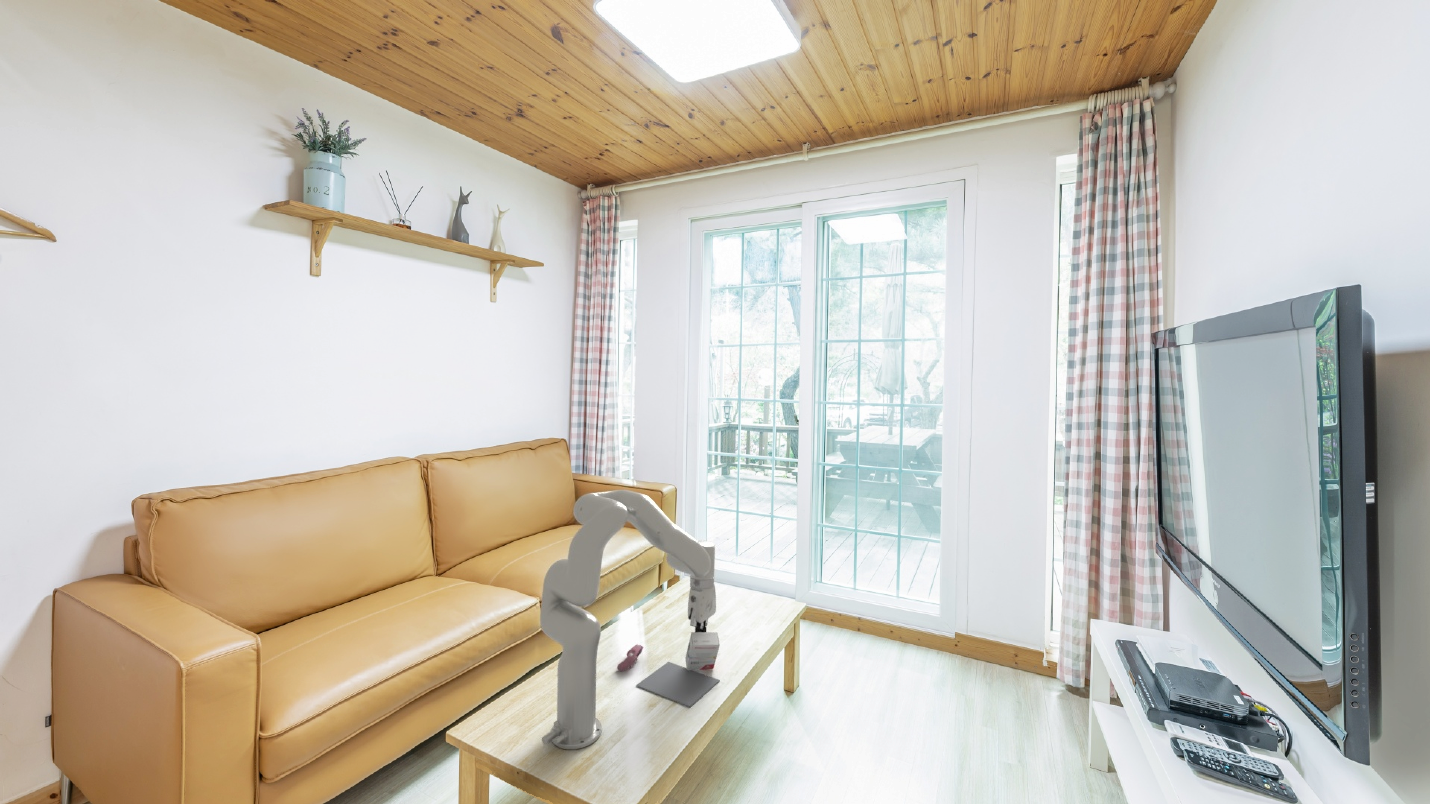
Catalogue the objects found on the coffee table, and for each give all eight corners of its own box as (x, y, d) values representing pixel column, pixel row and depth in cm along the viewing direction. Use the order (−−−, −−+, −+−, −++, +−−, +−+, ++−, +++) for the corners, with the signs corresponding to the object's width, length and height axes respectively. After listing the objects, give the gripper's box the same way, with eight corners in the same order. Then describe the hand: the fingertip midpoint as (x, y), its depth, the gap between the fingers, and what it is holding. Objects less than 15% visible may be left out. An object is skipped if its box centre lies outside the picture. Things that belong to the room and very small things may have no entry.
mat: (690, 708, 152) (690, 706, 152) (636, 686, 162) (636, 685, 162) (719, 681, 166) (719, 680, 166) (668, 662, 176) (668, 661, 176)
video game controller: (627, 678, 169) (637, 659, 168) (615, 670, 170) (625, 651, 169) (638, 662, 179) (648, 644, 178) (626, 654, 179) (636, 636, 179)
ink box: (711, 657, 176) (718, 631, 171) (713, 671, 172) (720, 644, 167) (684, 657, 174) (690, 631, 169) (686, 671, 170) (692, 645, 165)
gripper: (699, 592, 164) (697, 652, 165) (724, 577, 177) (722, 633, 178) (678, 586, 168) (676, 645, 169) (704, 572, 181) (703, 627, 182)
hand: (700, 639), depth 173 cm, fingers closed
